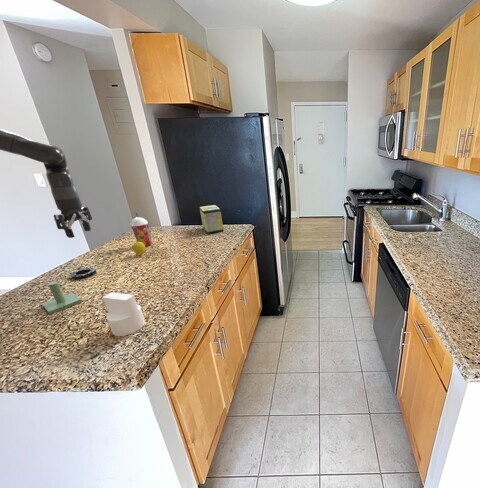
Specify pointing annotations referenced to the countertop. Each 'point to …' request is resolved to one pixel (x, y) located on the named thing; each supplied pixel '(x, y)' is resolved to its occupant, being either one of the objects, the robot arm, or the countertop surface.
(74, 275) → the ring
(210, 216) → the protein box
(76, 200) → the robot arm
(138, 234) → the smoothie
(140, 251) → the lemon
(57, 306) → the post
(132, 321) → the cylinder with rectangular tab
